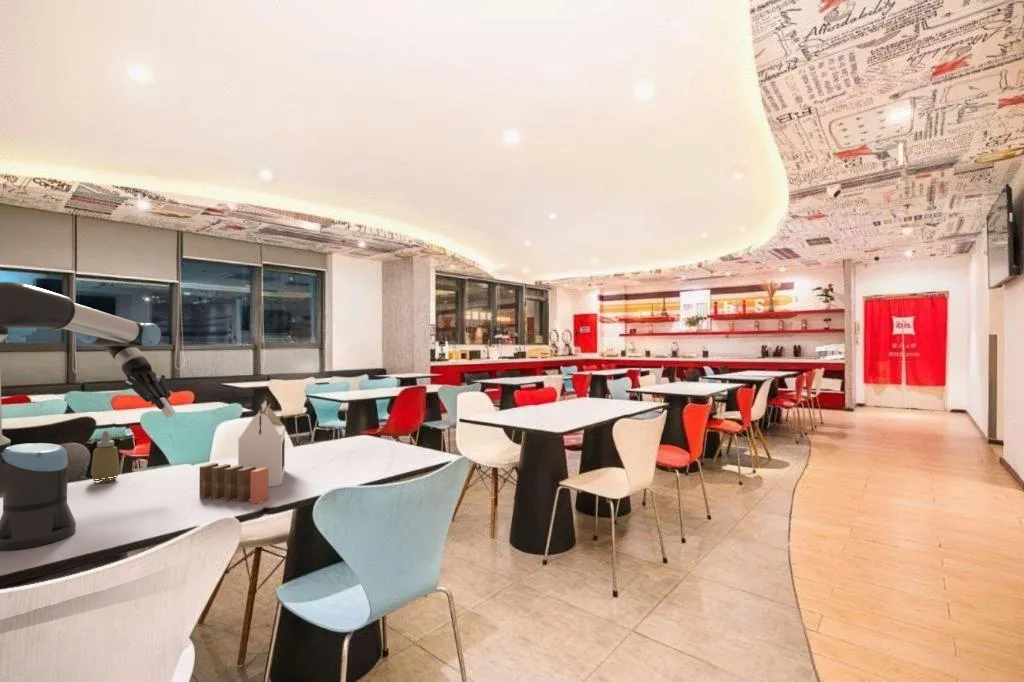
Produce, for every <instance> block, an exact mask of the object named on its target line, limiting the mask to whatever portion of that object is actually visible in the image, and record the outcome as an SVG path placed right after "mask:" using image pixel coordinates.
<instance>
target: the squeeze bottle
mask: <svg viewBox="0 0 1024 682" xmlns="http://www.w3.org/2000/svg"><path fill="white" fill-rule="evenodd" d="M90 466H91V467H90V475H91V477H92V479H94V480H93V482H94V481H100V480H102V481H100V482H99V483H98V484H104V483H103V482H109V481H112V482H114V481H113V480H115V481H116V480H117V479H118V476H119V474H120V471H121V469H120V461H119V451H118V447H117V446H115V440H111V438H110V434H109V431H108V430H105V431H103V433H102V436H101V440H100V441H97V442H96V447H95V449H93V452H92V460H91V465H90ZM114 476H117V477H114ZM108 477H113V478H108ZM102 478H105V479H102ZM115 478H116V479H115ZM95 479H99V480H95ZM110 479H111V480H110ZM109 483H110V482H109Z"/></svg>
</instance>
